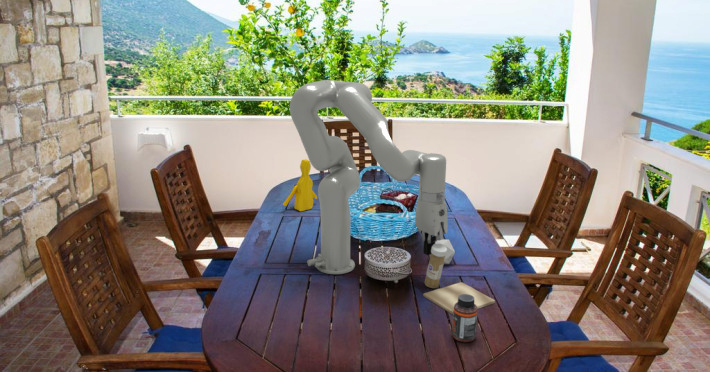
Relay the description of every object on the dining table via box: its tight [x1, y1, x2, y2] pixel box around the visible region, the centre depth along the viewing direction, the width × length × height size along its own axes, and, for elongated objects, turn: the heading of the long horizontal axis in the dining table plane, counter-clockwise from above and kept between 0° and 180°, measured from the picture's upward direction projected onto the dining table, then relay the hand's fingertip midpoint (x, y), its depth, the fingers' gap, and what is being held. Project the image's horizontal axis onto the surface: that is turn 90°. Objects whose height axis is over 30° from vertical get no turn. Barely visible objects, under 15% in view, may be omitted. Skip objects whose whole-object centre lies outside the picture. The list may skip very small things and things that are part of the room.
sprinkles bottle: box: [424, 244, 447, 289], centre depth 173 cm, size 5×5×13 cm
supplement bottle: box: [451, 294, 479, 343], centre depth 146 cm, size 6×6×11 cm
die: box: [429, 238, 456, 265], centre depth 192 cm, size 8×9×10 cm
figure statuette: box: [282, 158, 318, 212], centre depth 240 cm, size 18×8×22 cm, turn 131°
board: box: [422, 281, 496, 315], centre depth 167 cm, size 15×14×1 cm
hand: (429, 253), depth 175 cm, fingers closed
